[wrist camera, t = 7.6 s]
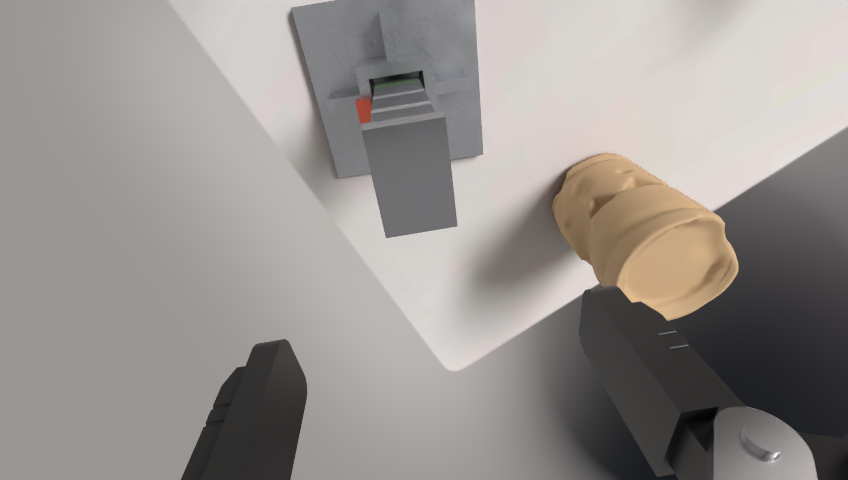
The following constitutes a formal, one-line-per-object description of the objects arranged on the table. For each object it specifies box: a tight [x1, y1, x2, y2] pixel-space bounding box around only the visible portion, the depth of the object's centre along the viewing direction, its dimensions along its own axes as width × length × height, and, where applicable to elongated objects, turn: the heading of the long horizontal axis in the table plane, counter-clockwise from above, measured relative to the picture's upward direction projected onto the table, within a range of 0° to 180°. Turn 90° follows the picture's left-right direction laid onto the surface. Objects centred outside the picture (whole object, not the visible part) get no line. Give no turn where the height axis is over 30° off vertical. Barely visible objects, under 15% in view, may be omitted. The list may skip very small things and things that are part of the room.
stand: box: [291, 0, 483, 178], centre depth 38 cm, size 18×18×9 cm
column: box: [362, 76, 457, 238], centre depth 28 cm, size 6×4×20 cm, turn 8°
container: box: [552, 153, 738, 321], centre depth 44 cm, size 13×13×18 cm
